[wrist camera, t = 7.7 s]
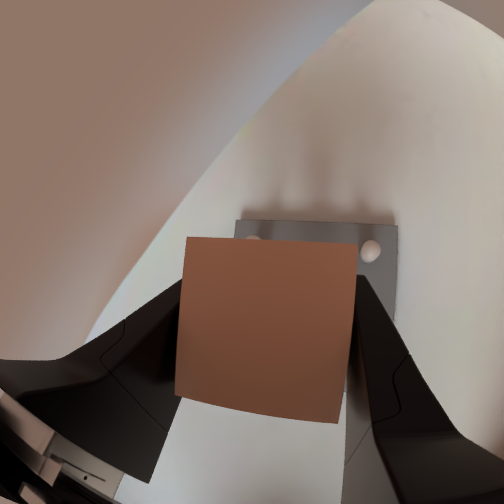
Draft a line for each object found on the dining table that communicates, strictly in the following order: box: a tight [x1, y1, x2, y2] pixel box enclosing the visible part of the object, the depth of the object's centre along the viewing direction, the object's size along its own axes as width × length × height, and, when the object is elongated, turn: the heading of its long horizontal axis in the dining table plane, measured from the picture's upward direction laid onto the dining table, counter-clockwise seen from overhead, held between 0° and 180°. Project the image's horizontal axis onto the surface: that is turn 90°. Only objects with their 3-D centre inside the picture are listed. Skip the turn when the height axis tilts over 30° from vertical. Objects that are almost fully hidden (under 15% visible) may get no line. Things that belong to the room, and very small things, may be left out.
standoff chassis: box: [234, 220, 398, 392], centre depth 20 cm, size 12×12×4 cm
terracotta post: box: [175, 237, 358, 424], centre depth 11 cm, size 4×4×9 cm
